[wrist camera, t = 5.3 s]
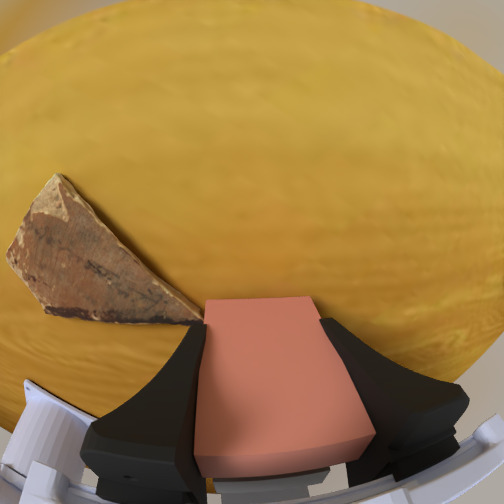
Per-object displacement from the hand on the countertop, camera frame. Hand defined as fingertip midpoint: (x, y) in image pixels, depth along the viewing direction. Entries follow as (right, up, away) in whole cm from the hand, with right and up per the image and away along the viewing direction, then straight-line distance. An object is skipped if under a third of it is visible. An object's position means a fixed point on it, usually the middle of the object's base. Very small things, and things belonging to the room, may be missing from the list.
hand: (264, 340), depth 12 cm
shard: (-9, +4, +2) cm, 10 cm away
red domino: (0, +1, +2) cm, 2 cm away
